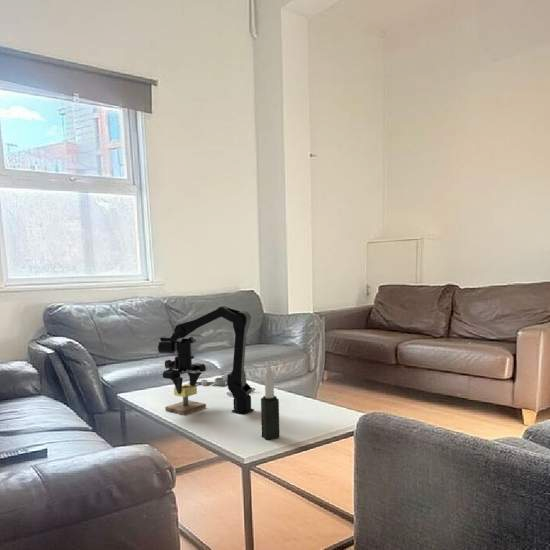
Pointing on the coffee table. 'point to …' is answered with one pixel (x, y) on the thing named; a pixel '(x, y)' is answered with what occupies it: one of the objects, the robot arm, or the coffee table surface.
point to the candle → (270, 408)
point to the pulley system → (217, 382)
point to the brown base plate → (185, 406)
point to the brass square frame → (186, 391)
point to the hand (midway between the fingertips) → (185, 391)
